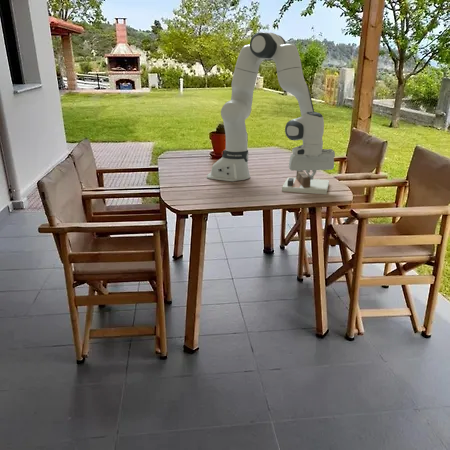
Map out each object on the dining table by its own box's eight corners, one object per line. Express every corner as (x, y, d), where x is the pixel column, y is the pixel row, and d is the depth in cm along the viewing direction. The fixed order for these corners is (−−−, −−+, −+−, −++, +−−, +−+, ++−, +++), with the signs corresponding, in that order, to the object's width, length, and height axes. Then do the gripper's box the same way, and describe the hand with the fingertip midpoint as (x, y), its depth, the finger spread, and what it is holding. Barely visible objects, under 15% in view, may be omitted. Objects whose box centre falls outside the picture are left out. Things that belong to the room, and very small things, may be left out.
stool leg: (295, 178, 200) (296, 170, 199) (302, 177, 200) (302, 170, 199) (303, 187, 185) (303, 178, 183) (310, 187, 185) (310, 178, 183)
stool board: (281, 191, 187) (282, 181, 185) (287, 181, 203) (288, 172, 201) (326, 194, 181) (327, 184, 180) (328, 184, 198) (329, 175, 196)
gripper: (333, 147, 186) (330, 177, 191) (288, 148, 185) (287, 178, 190) (337, 150, 180) (334, 180, 185) (291, 151, 180) (290, 181, 184)
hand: (310, 179), depth 188 cm, fingers closed
